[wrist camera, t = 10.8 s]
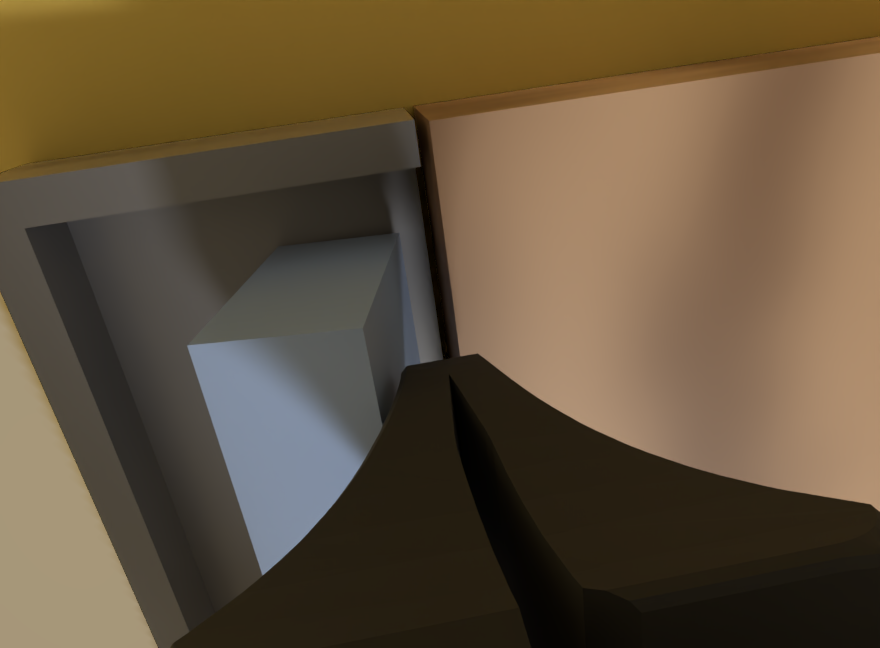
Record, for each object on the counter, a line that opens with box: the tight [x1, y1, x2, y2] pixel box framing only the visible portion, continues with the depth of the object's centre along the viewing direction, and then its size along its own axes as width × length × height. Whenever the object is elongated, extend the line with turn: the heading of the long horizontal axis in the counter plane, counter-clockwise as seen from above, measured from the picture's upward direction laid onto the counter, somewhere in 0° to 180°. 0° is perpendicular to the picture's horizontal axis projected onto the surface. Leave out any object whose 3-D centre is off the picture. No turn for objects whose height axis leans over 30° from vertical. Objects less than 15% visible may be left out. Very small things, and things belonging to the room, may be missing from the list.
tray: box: [0, 107, 443, 648], centre depth 16 cm, size 8×20×2 cm, turn 7°
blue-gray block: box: [187, 233, 420, 575], centre depth 12 cm, size 4×4×2 cm
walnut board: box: [413, 36, 880, 511], centre depth 16 cm, size 12×20×3 cm, turn 7°
